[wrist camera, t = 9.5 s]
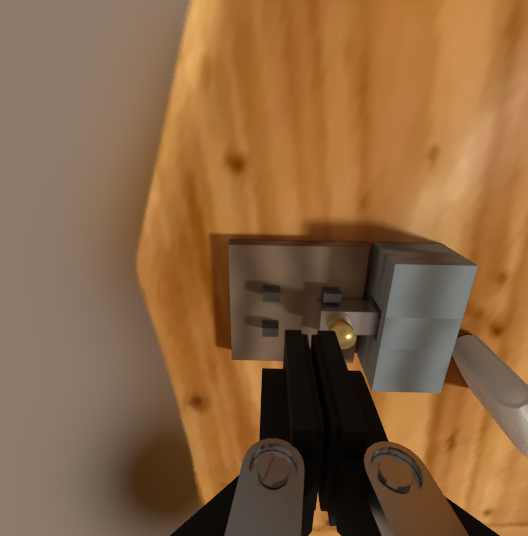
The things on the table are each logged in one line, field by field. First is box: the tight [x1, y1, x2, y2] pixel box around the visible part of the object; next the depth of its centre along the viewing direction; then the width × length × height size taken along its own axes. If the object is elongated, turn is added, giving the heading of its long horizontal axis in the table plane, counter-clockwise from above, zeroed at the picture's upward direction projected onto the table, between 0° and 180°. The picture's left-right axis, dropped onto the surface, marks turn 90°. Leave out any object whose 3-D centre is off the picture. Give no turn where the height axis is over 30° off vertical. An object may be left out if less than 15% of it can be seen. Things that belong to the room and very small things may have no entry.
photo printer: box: [452, 335, 528, 457], centre depth 38 cm, size 10×4×12 cm, turn 33°
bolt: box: [316, 299, 382, 349], centre depth 35 cm, size 12×3×6 cm, turn 89°
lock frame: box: [228, 240, 478, 393], centre depth 37 cm, size 25×16×7 cm, turn 89°
